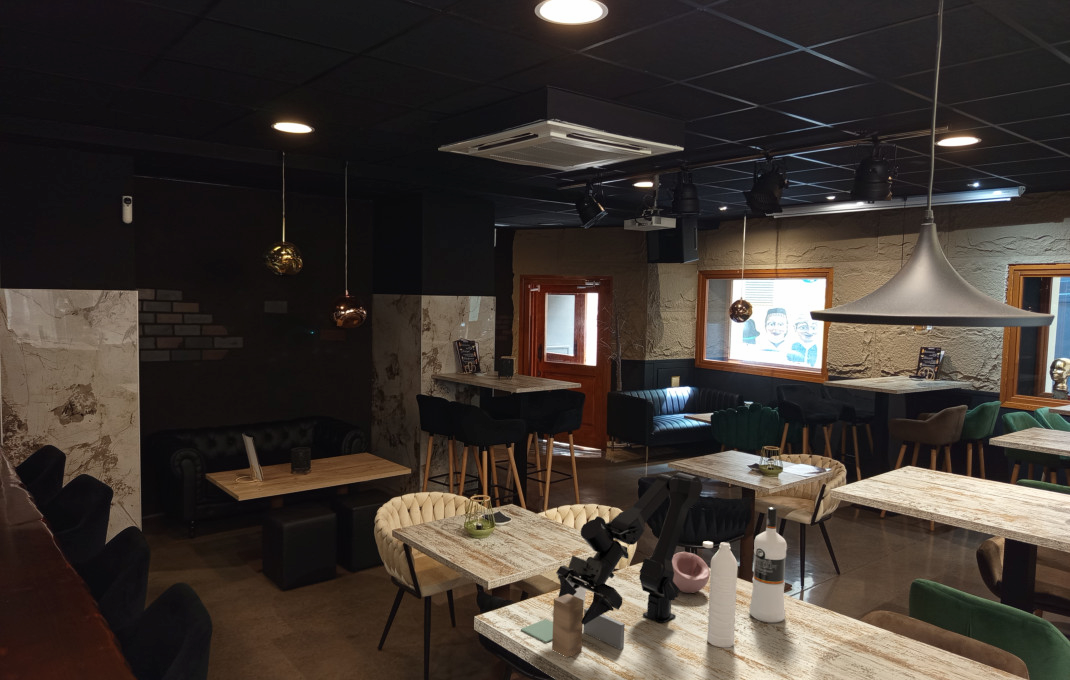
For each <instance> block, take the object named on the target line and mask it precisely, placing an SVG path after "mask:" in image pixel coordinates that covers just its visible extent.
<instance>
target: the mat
mask: <svg viewBox="0 0 1070 680" xmlns="http://www.w3.org/2000/svg"><path fill="white" fill-rule="evenodd" d="M520 631H521V632H523V633H525V634H527V635H529V636H531V637H532V638H535V639H537V640H539V641H541V640H542V641H541V642H543V641H544V642H543V643H545V642H547V643H549V641H550V642H552V637H553V620H550V619H547V618H545V619H542V620H539V621H537V622H535V623H532V624H529V625H527V626H525V627H522V628H520Z"/></svg>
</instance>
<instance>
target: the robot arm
mask: <svg viewBox="0 0 1070 680" xmlns="http://www.w3.org/2000/svg"><path fill="white" fill-rule="evenodd" d="M702 491H703V484H702V480H701V479H700V477H698V476H693V475H690V474H686V473H682V472H676V473H674V474H673V475H672V474H663V473H662V474H661V473H660V474H658V475H657V476H656V478H655V480H654V482H653V483H652V484H651V485H650V486H649V487H648V489H647V490H646V491H645V492H644V493H643V495H642V496H640V498H639V499H638V500H637V501H636V502H635V504H634V505H632V506H631V508H629V509H627V510H624V511H621V512H620V513H619V514H617V515H616V516H615V517H614V518H613V519H612V520H611V521H609V522H606V520H605V518H603V517H601V516H598V515H597V516H595V518H593V519H591V520H588V521H587V522H586V523H583V525H582V527H581V528H580V537H582V538H583V540H584V542H586V544H587V545H588V546H589V547H590V548H591V549H592V551H594V552H595V554H594V555H593V556H588V557H587V559H582V558H580V557H577V556H575V555H572V556H571V559H570V562H569V565H568V566H566V565H560V566H559V568H557V570H556V572H555V574H556V576H557V579H558V580H559V583H560V584H559V585H560V587H559V592H558V596H557V598H558V597H561V596H563V595H566V594H570V595H573V596H574V594H575V593H576V592H577V591H576V590H575V589H577V588H579V587H580V586H581V587H583V588H585V589H586V591H589V592H591V593H593V596H592V597H593V598H592V602H591V604H590V605H589V606H588V608H589V609H588V610H587V612H586V614H585V615H584V614H583V619H582V621H581V623H582V624H583V626H584V625H585V624H587V623H588V622H590V621H591V620H593V619H595V618H596V617H598V616H600V615H602V614H603V615H605V613H608V612H609V611H611V612H613V611H614V609H615V610H620V608H621V606H622V605H623V597H622V595H620V593H619V592H618V591H617V590H616V589H615V588H614V587H613V586H611V585H609V584H606V583H607V581H608V579H609V578H610V579H613V578H614V577H615V574H614V573H613V571H614V570H615V569H616V567H617V566H618V564H619V562H620V561H621V559H622V558H625V559H627V560H628V559H629V557H630V556H629V552H628V547H627V546H625V545H622V544H621V543H620V542H622V543H624V544H626V545H631V546H632V545H635V544H637V542H638V541H639V540H640V538H641V536H642V535H643V534H644V532H645V528H646V527H645V526H646V523H647V521H648V520H649V518H651V516H652V515H653V514H654V513H655V511H657V509H658V508H659V507H660V506H661V505H662V504H663V502H664V501H665V500H666V499H667V498H669V500H670V503H669V506H668V510H667V513H666V517H665V519H664V522H663V526H662V529H661V532H660V535H659V537H658V541H657V544H656V546H655V550H654V553H653V554H652V555H651V556H650V557H649V558H648V557H645V558H644V559H643V561H642V565H641V568H640V570H639V578H638V579H639V581H640V585H641V588H642V591H643V592H645V593H649V594H648V599H647V610H646V611H645V612H644V613H642V616H643V617H645V618H648V619H650V620H653V621H655V622H657V623H659V624H664V623H666V622H668V621H670V620H672V619H675V618H676V616H677V615H676V614H674V613H672V601H675V600H676V598H678V597H679V593H680V590H679V588H678V587H677V586H676V584H675V583H674V582H673V577H674V569H673V564H672V559H673V556H674V555H675V554H676V549H677V546H678V543H679V540H680V536H681V533H682V531H683V528H684V524H685V522H686V518H687V514H688V512H689V510H690V509H691V508H692V507H693V506H694V505H695V504H696V503H697V502H698V500H699V498H700V497H701V496H700V495H701V494H702ZM580 577H581V578H580ZM585 584H586V585H585Z"/></svg>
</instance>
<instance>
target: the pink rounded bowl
mask: <svg viewBox="0 0 1070 680" xmlns="http://www.w3.org/2000/svg"><path fill="white" fill-rule="evenodd" d="M672 564H673V569H674V577H673V582H674V583H675V584H676V586H677V587H678V588H679V592H682V593H686V594H693V593H697V592H699V591H701V590H702V589H704V587H706V585H707V584H708V581H710V580H709V579H710V574H711V573H710V571H711V570H710V568H709V566H708V564H707V563H706V562H705V561H704V560H703V558H701V557H700V556H698V555H697V554H695V553H692V552H687V551H681V552H677V553H674V556H673V559H672Z"/></svg>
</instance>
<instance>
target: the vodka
mask: <svg viewBox="0 0 1070 680" xmlns="http://www.w3.org/2000/svg"><path fill="white" fill-rule="evenodd" d="M777 519H778V508H777V507H774V506H767V508H766V526H765V527H766V528H765V531H763V532H761V533H759V534H757V535H756V536H755V539H754V540H753V542H754V543H753V545H754V549H753V553H754V557H753V558H754V559H753V560H754V561H753V577H752V592H751V600H750V604H749V607H748V608H749V615H751V617H752V618H754V619H756V620H757V621H761V622H764V623H770V624H775V623H780V622H783V621H784V620H785V618H786V609H785V595H784V594H785V591H784V590H785V585H786V582H785V570H786V558H787V548H788V544H787V540H786V539H785V538H784V537H783V536H782V535H780V534H779V533H778V532H777Z"/></svg>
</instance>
